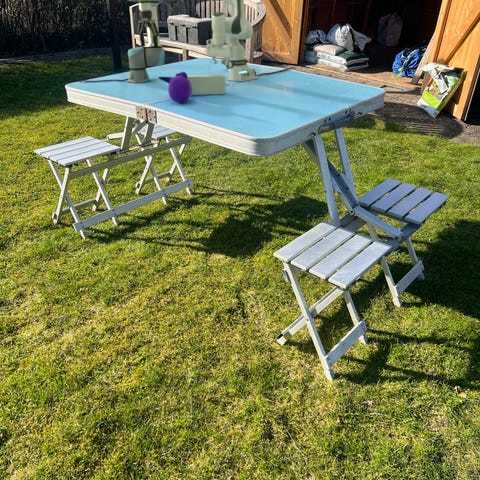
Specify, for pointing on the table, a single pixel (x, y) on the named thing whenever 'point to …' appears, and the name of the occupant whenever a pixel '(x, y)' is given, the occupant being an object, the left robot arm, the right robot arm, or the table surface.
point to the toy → (178, 87)
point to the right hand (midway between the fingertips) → (220, 64)
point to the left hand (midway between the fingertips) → (149, 47)
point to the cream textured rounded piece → (224, 63)
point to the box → (207, 84)
